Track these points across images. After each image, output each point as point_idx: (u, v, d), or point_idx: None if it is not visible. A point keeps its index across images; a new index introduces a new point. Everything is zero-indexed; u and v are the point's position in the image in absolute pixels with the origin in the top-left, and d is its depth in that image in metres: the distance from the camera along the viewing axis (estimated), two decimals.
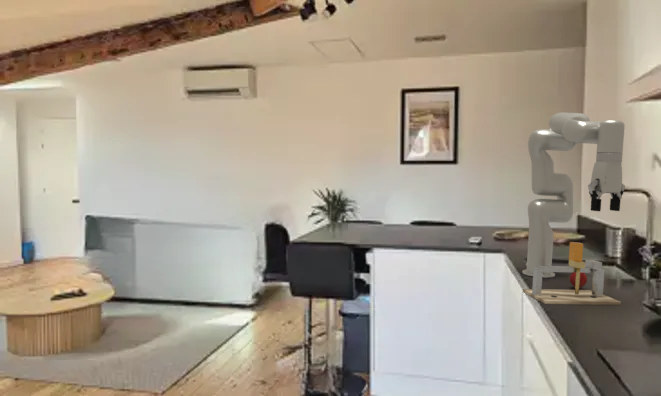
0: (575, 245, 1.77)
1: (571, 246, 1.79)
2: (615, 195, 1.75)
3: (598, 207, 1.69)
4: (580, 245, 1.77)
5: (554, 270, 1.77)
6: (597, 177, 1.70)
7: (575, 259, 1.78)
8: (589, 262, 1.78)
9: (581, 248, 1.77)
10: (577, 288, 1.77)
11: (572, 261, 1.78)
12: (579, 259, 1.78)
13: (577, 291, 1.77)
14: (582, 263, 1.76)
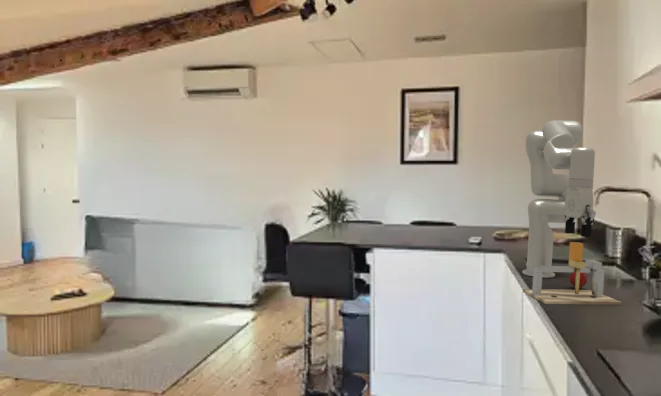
0: (575, 245, 1.77)
1: (571, 246, 1.79)
2: (569, 218, 1.83)
3: None
4: (580, 245, 1.77)
5: (554, 270, 1.77)
6: (587, 204, 1.73)
7: (575, 259, 1.78)
8: (589, 262, 1.78)
9: (581, 248, 1.77)
10: (577, 288, 1.77)
11: (572, 261, 1.78)
12: (579, 259, 1.78)
13: (577, 291, 1.77)
14: (582, 263, 1.76)
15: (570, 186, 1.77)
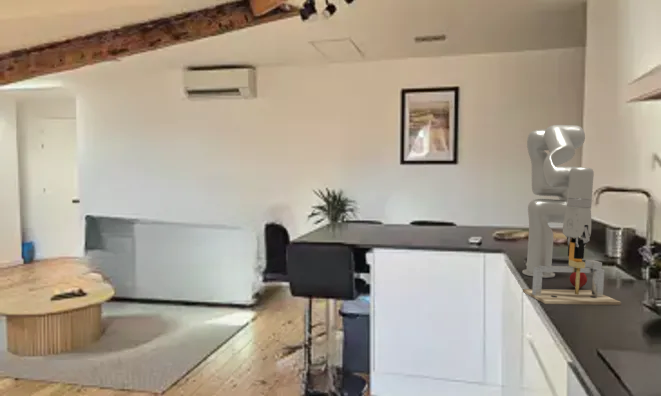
0: (575, 245, 1.77)
1: (571, 246, 1.79)
2: (571, 241, 1.81)
3: None
4: None
5: (554, 270, 1.77)
6: (585, 224, 1.73)
7: (575, 259, 1.78)
8: (589, 262, 1.78)
9: None
10: (577, 288, 1.77)
11: (572, 261, 1.78)
12: (579, 259, 1.78)
13: (577, 291, 1.77)
14: (582, 263, 1.76)
15: (569, 205, 1.77)
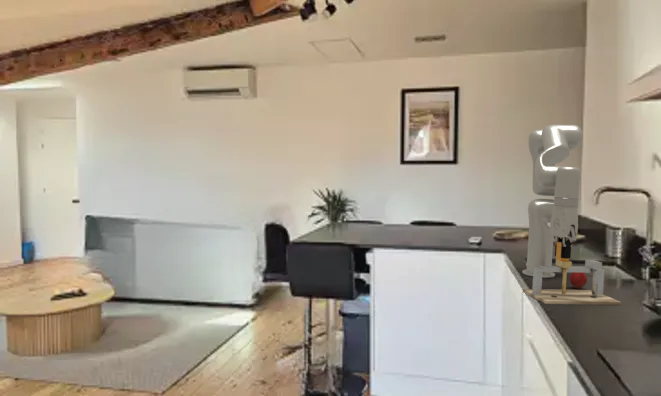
0: (562, 244, 1.77)
1: (558, 246, 1.79)
2: (558, 241, 1.81)
3: None
4: None
5: (554, 270, 1.77)
6: (572, 223, 1.73)
7: (562, 259, 1.77)
8: (589, 262, 1.78)
9: None
10: (564, 288, 1.77)
11: (559, 261, 1.78)
12: (566, 259, 1.77)
13: (564, 291, 1.77)
14: (569, 263, 1.75)
15: (555, 205, 1.77)
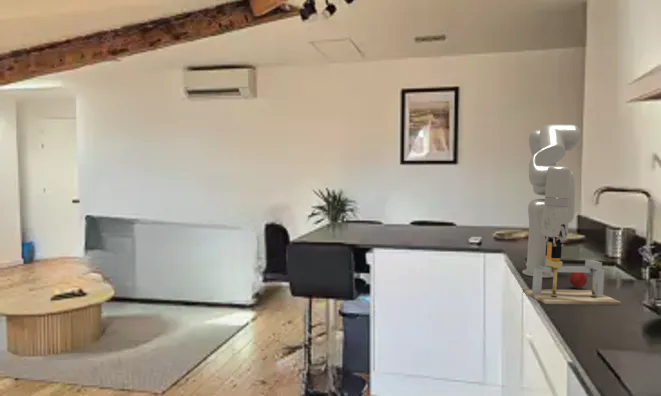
0: (552, 244, 1.76)
1: (549, 245, 1.78)
2: (549, 240, 1.80)
3: None
4: None
5: None
6: (562, 223, 1.73)
7: (552, 259, 1.77)
8: (589, 262, 1.78)
9: None
10: (554, 288, 1.76)
11: (549, 261, 1.77)
12: (556, 259, 1.77)
13: (554, 291, 1.76)
14: (559, 263, 1.75)
15: (546, 205, 1.77)
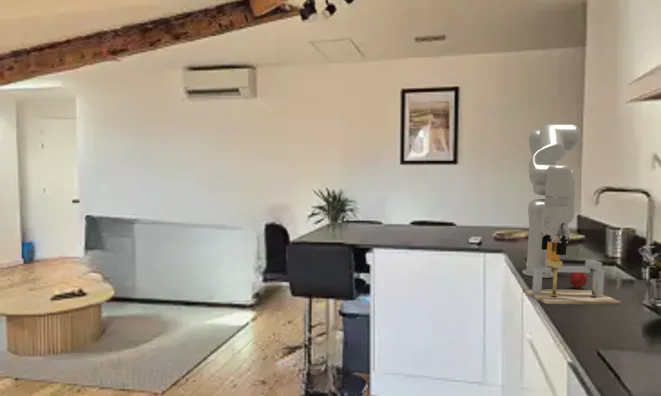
0: (552, 244, 1.76)
1: (549, 245, 1.78)
2: (545, 235, 1.83)
3: None
4: None
5: None
6: (562, 222, 1.73)
7: (552, 259, 1.77)
8: (589, 262, 1.78)
9: None
10: (554, 288, 1.76)
11: (549, 261, 1.77)
12: (556, 259, 1.77)
13: (554, 291, 1.76)
14: (559, 263, 1.75)
15: (546, 204, 1.77)
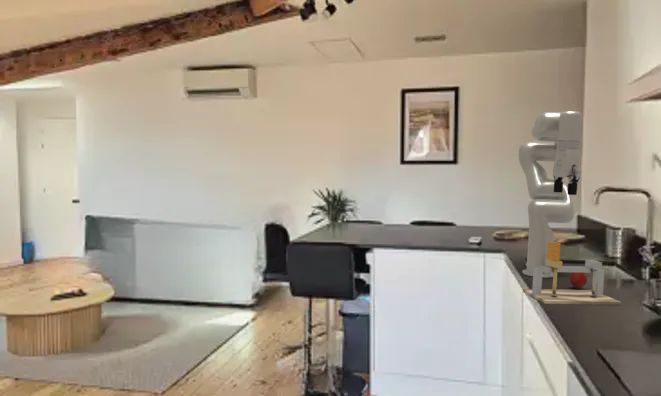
0: (552, 244, 1.76)
1: (549, 245, 1.78)
2: (557, 178, 1.95)
3: None
4: (557, 244, 1.77)
5: None
6: (573, 164, 1.85)
7: (552, 259, 1.77)
8: (589, 262, 1.78)
9: (558, 247, 1.77)
10: (554, 288, 1.76)
11: (549, 261, 1.77)
12: (556, 259, 1.77)
13: (554, 291, 1.76)
14: (559, 263, 1.75)
15: (558, 148, 1.89)
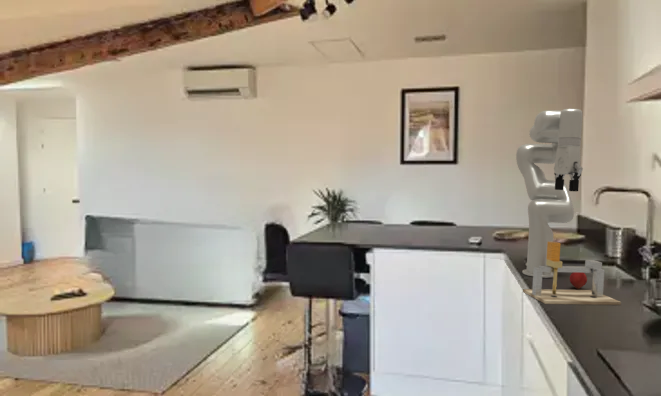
0: (552, 244, 1.76)
1: (549, 245, 1.78)
2: (558, 176, 1.97)
3: (577, 187, 1.87)
4: (557, 244, 1.77)
5: None
6: (575, 160, 1.86)
7: (552, 259, 1.77)
8: (589, 262, 1.78)
9: (558, 247, 1.77)
10: (554, 288, 1.76)
11: (549, 261, 1.77)
12: (556, 259, 1.77)
13: (554, 291, 1.76)
14: (559, 263, 1.75)
15: (559, 145, 1.90)
